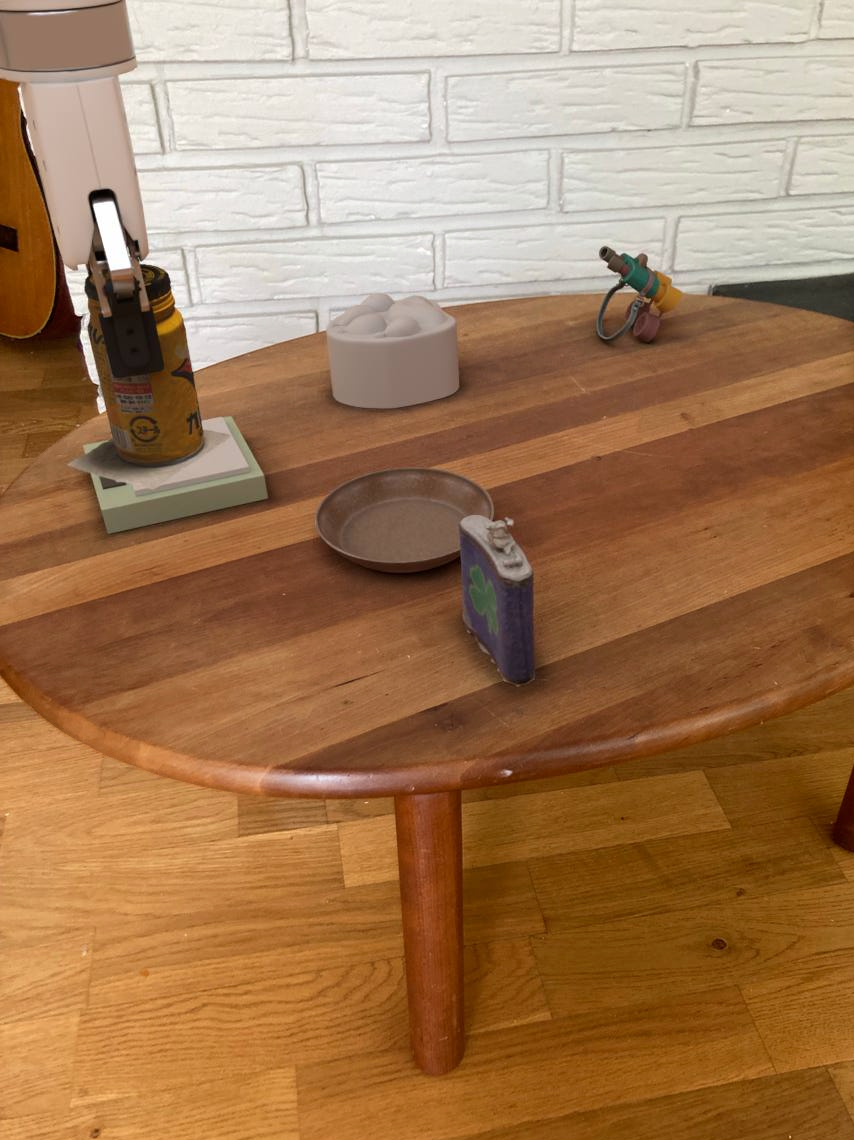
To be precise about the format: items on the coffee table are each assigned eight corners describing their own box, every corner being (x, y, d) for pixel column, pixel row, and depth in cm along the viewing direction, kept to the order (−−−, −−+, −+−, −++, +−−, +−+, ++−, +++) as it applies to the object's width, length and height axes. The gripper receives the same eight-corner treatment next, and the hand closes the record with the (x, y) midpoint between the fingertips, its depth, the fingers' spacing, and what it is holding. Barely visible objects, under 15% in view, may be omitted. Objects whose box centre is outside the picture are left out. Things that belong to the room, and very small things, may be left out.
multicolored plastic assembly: (639, 368, 122) (693, 292, 117) (574, 331, 118) (627, 250, 113) (620, 337, 129) (670, 263, 124) (558, 301, 125) (607, 223, 121)
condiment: (231, 437, 76) (203, 266, 68) (154, 492, 70) (114, 310, 62) (149, 418, 78) (114, 251, 71) (67, 469, 72) (19, 292, 65)
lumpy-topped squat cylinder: (468, 393, 113) (465, 312, 107) (350, 418, 109) (341, 335, 103) (431, 357, 120) (427, 280, 115) (319, 379, 116) (310, 300, 111)
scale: (108, 534, 92) (99, 503, 90) (89, 467, 101) (81, 439, 100) (268, 498, 96) (263, 468, 94) (235, 438, 106) (230, 410, 104)
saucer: (409, 611, 82) (407, 581, 80) (281, 545, 90) (277, 517, 88) (530, 530, 91) (530, 503, 89) (404, 477, 99) (402, 450, 97)
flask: (457, 619, 81) (452, 495, 75) (492, 609, 82) (490, 485, 75) (508, 691, 74) (508, 561, 68) (546, 679, 75) (549, 550, 69)
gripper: (-17, 24, 64) (59, 318, 75) (-2, 73, 52) (86, 417, 63) (112, 16, 67) (167, 302, 78) (156, 61, 54) (214, 395, 65)
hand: (130, 351), depth 70 cm, fingers closed on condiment, 6 cm apart
